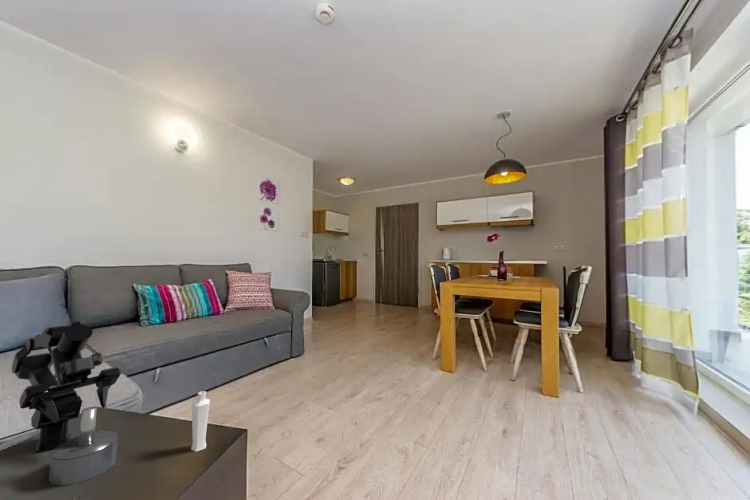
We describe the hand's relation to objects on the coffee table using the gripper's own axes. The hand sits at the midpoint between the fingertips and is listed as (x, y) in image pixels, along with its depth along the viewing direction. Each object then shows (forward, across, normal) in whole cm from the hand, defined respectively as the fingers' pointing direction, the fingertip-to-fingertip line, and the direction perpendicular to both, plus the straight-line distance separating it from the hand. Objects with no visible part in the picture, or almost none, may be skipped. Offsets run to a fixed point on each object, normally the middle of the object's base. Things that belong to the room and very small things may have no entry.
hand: (81, 414), depth 78 cm
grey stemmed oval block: (+12, 0, +6) cm, 13 cm away
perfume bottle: (+23, +20, -5) cm, 31 cm away
